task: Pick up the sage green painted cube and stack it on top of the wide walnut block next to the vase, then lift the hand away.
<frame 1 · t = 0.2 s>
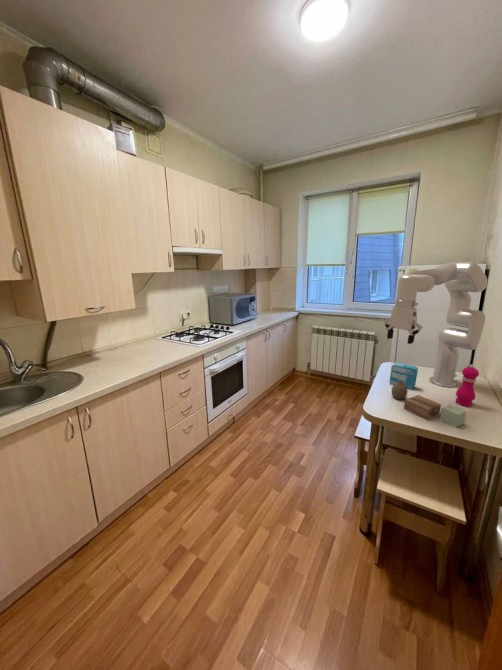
hand: (399, 340, 121), 31 cm above the table, tool pointing down, fingers open, 9 cm apart
vase: (398, 398, 132), on the table
green cube: (451, 422, 111), on the table
data package: (401, 386, 145), on the table
pepper mill: (463, 403, 126), on the table
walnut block: (421, 411, 120), on the table
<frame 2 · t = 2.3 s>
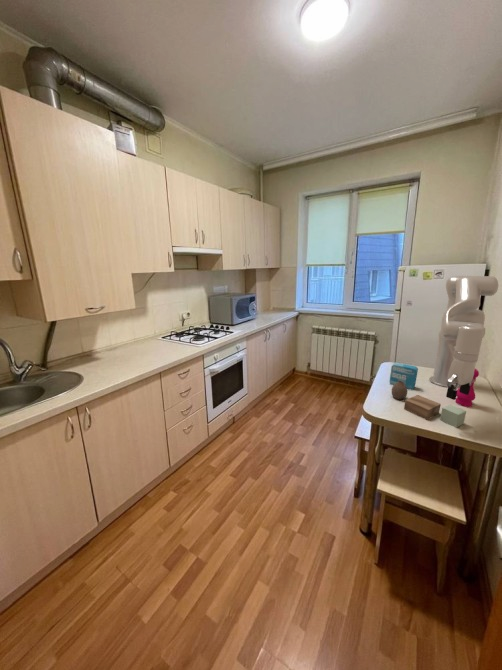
hand: (457, 395, 108), 12 cm above the table, tool pointing down, fingers open, 9 cm apart
nothing on the table moved.
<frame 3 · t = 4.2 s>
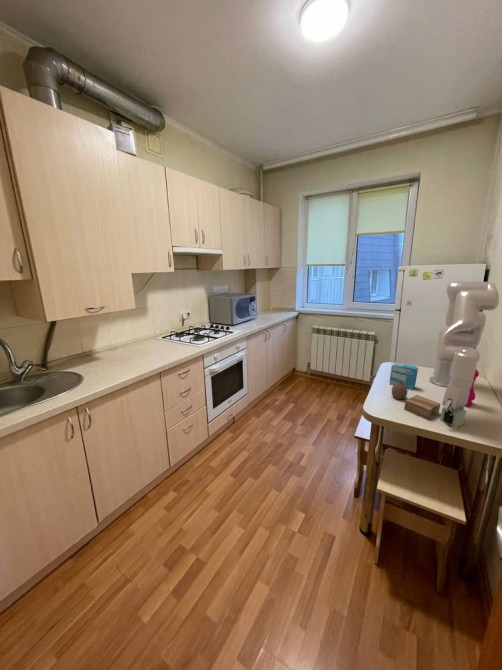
hand: (452, 420, 111), 1 cm above the table, tool pointing down, fingers closed on green cube, 6 cm apart
green cube: (451, 421, 111), on the table, touching gripper
everything else where it was.
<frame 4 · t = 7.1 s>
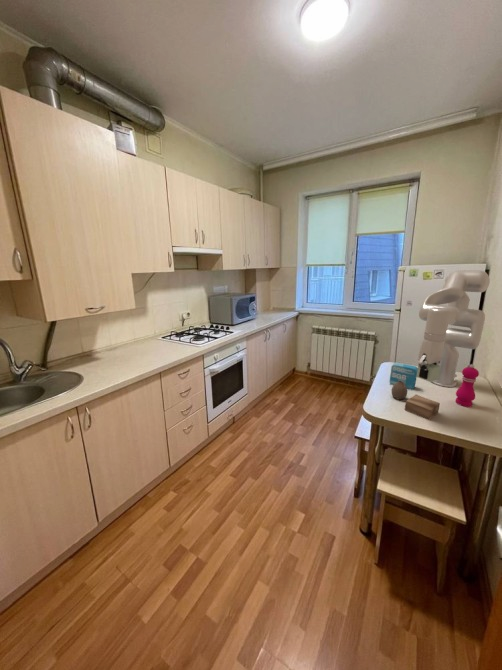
hand: (427, 376, 115), 17 cm above the table, tool pointing down, fingers closed on green cube, 6 cm apart
green cube: (427, 378, 115), point 16 cm above the table, touching gripper
everything else where it was.
when the fingers open (6 cm above the table, at t = 9.9 s): green cube stays where it is, resting on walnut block.
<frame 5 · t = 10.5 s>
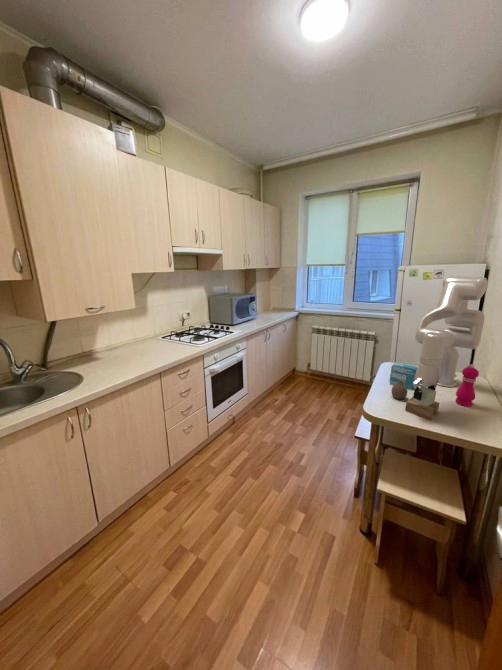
hand: (423, 396, 118), 7 cm above the table, tool pointing down, fingers open, 9 cm apart
green cube: (423, 402, 118), point 5 cm above the table, touching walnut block
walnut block: (421, 412, 120), on the table, touching green cube
everything else where it was.
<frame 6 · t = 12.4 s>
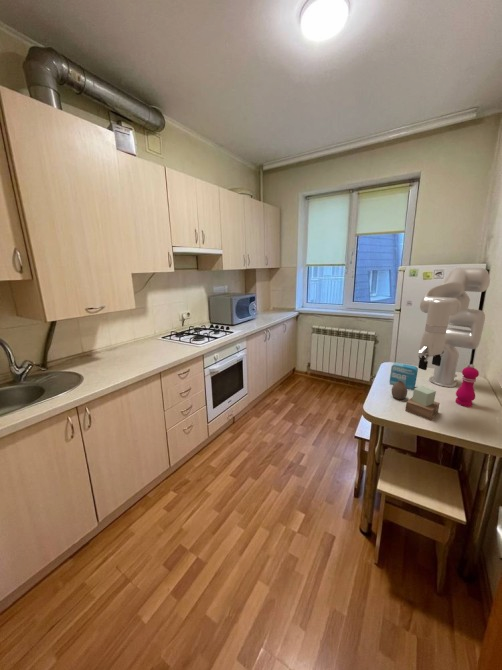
hand: (429, 367, 114), 22 cm above the table, tool pointing down, fingers open, 9 cm apart
nothing on the table moved.
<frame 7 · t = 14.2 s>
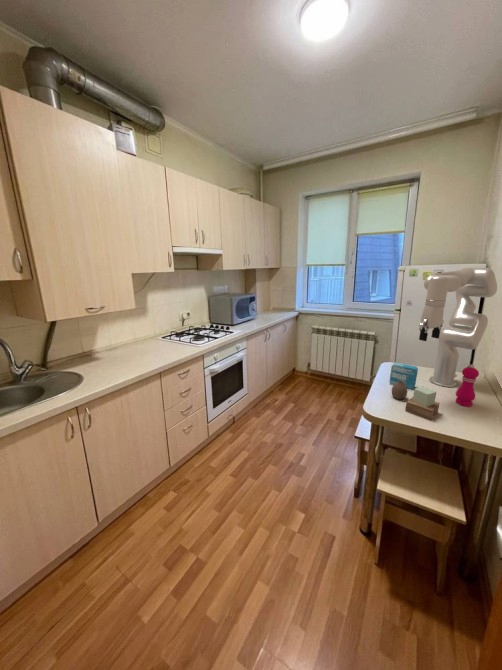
hand: (428, 339, 125), 30 cm above the table, tool pointing down, fingers open, 9 cm apart
green cube: (423, 402, 118), point 5 cm above the table
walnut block: (421, 412, 119), on the table
everything else where it was.
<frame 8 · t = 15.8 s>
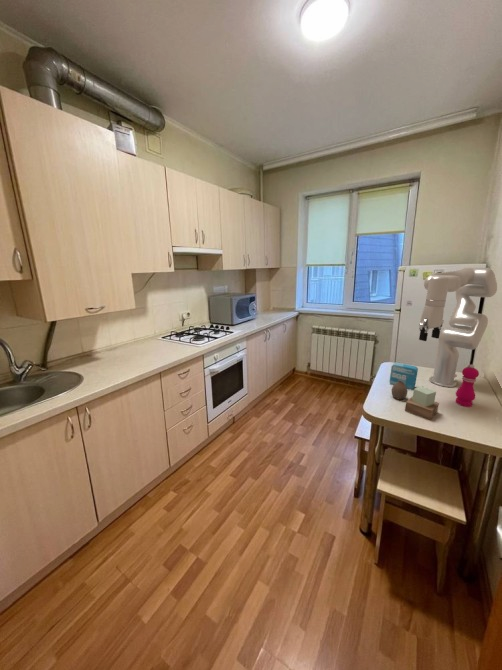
hand: (428, 339, 125), 30 cm above the table, tool pointing down, fingers open, 9 cm apart
nothing on the table moved.
at the end: green cube 0.1 cm off-centre on the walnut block, point 5.0 cm above the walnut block's base; green cube tilted 0°; the gripper is holding nothing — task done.
